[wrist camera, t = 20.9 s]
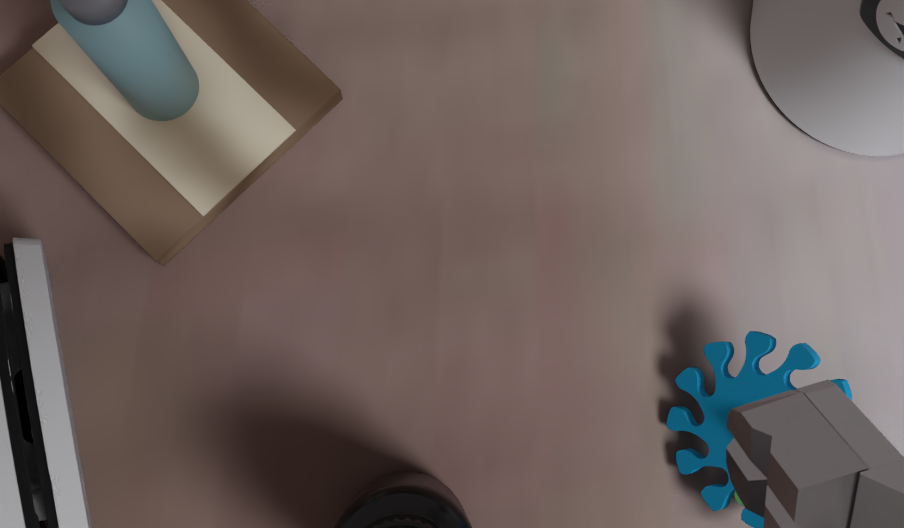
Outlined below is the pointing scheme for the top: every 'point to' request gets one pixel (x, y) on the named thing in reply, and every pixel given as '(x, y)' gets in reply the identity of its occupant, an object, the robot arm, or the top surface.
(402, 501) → the supplement bottle
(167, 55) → the peg
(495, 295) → the top surface
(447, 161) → the top surface
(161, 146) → the floor panel
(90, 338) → the top surface
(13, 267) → the white arched piece
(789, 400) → the robot arm
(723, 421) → the gear
